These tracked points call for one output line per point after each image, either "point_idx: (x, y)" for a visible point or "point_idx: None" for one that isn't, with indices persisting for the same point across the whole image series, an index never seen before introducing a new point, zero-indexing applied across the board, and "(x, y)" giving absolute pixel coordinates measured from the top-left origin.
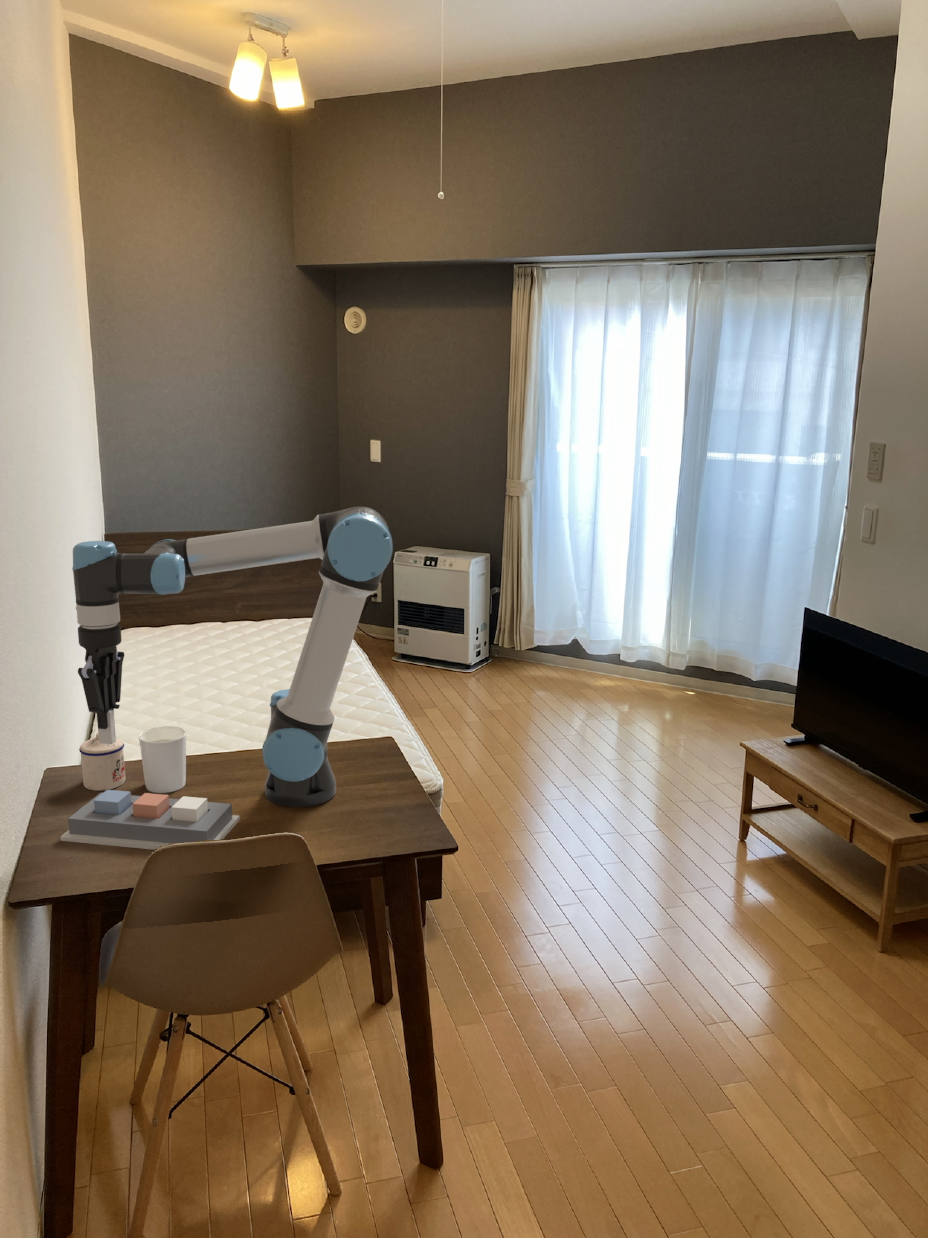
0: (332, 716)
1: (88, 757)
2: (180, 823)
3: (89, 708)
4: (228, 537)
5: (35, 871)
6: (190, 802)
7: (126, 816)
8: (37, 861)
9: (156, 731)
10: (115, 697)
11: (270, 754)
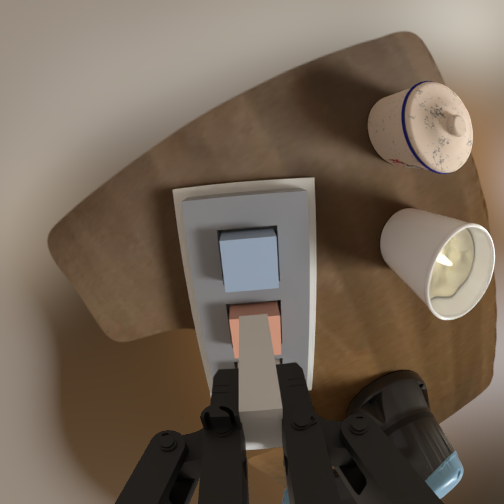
0: None
1: (400, 114)
2: None
3: (148, 452)
4: None
5: (90, 219)
6: None
7: (223, 298)
8: (110, 200)
9: (485, 237)
10: (338, 469)
11: None
